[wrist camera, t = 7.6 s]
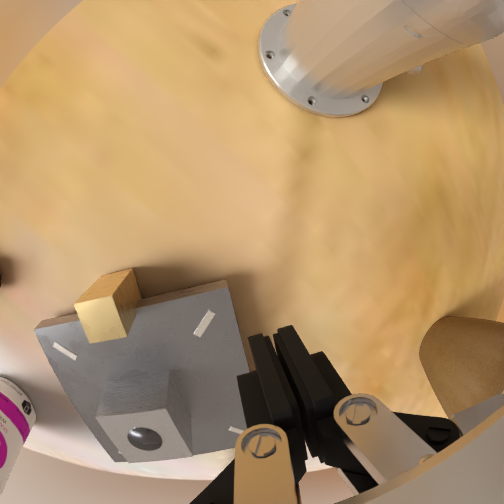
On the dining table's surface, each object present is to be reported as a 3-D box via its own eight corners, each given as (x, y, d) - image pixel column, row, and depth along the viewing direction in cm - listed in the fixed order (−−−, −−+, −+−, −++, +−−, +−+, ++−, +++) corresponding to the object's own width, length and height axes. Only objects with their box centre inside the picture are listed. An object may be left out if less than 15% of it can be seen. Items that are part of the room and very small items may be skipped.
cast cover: (169, 370, 23) (165, 409, 18) (191, 418, 24) (193, 457, 19) (108, 380, 22) (94, 417, 17) (134, 426, 23) (128, 463, 19)
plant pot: (421, 284, 30) (529, 338, 15) (481, 296, 33) (561, 334, 18) (378, 392, 32) (449, 471, 17) (444, 383, 36) (507, 436, 20)
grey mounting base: (217, 247, 24) (225, 268, 18) (262, 421, 29) (276, 463, 23) (37, 292, 22) (2, 320, 16) (118, 444, 27) (110, 485, 21)
